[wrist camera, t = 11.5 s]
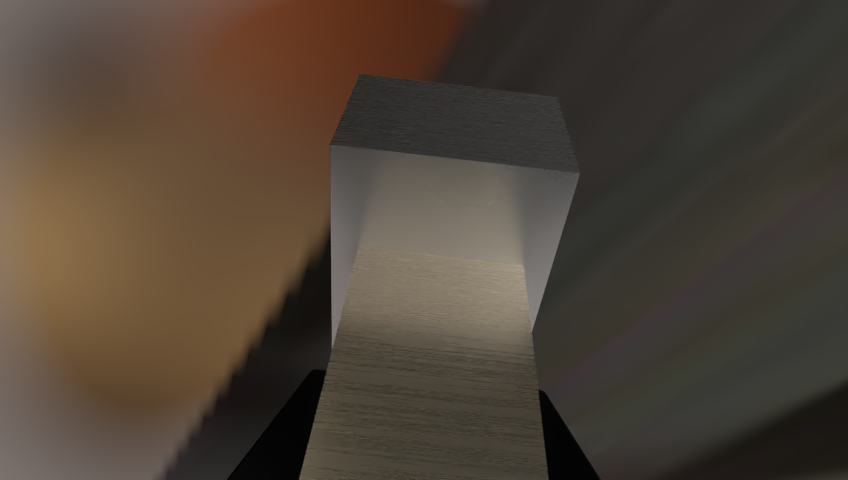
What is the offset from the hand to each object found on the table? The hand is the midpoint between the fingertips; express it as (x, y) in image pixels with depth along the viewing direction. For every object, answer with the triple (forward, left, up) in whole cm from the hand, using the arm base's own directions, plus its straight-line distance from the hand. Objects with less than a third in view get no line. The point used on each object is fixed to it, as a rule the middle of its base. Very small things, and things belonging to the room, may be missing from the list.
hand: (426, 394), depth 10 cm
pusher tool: (0, 0, -5) cm, 5 cm away
